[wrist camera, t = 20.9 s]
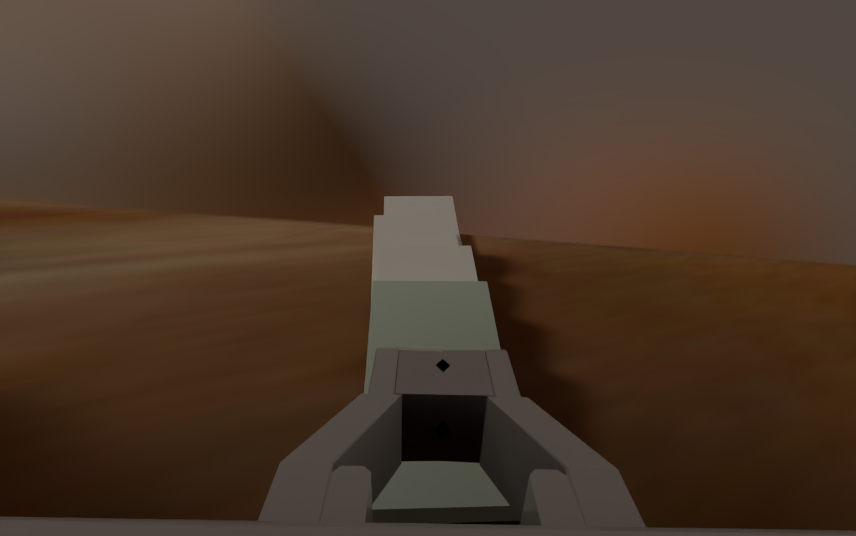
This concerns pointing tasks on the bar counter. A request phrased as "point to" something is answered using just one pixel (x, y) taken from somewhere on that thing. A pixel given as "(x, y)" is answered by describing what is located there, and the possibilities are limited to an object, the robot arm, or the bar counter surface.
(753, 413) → the bar counter surface
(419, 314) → the domino
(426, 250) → the domino
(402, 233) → the domino
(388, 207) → the domino
